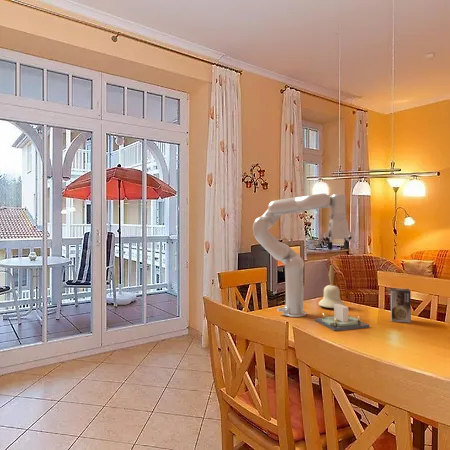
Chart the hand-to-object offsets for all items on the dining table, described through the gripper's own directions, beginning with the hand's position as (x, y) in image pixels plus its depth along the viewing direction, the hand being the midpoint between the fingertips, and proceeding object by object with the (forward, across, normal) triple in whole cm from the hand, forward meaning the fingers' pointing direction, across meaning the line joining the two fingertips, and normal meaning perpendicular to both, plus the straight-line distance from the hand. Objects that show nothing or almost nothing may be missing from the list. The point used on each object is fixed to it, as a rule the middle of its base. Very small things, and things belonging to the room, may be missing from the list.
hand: (338, 249), depth 203 cm
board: (+35, -6, -12) cm, 38 cm away
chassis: (+36, -6, -12) cm, 39 cm away
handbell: (+36, +8, +20) cm, 42 cm away
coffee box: (+36, +26, -16) cm, 48 cm away
